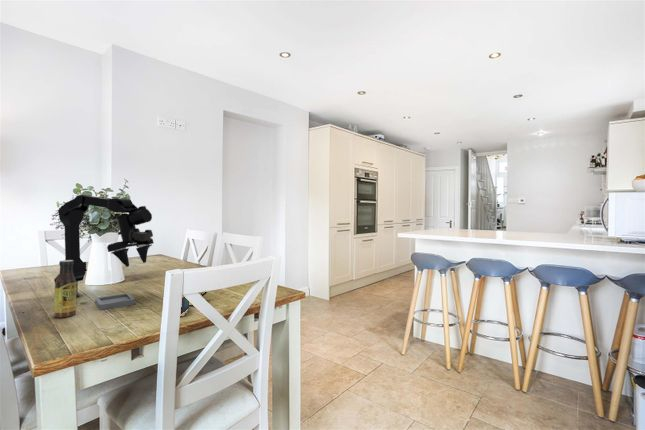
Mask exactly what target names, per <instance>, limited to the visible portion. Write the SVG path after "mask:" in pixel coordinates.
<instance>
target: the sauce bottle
mask: <svg viewBox="0 0 645 430" xmlns="http://www.w3.org/2000/svg"><path fill="white" fill-rule="evenodd" d="M58 264H59V273H58V275H59V276H58V275H57V276H58V277H57V276H56V277H57V278H56V277H55V278H56V281H54V285H55V286H54V300H53V302H54V304H53V312H54V314H53V316H54V318H58V319H59V318H60V319H61V318H67V317H72V316H73V315H75V314H76V312H77V311H76V310H77V297H76V296H77V282H76V279H75V277H74V274H73V264H74V261H73V260H65V259H64V260H59V263H58Z"/></svg>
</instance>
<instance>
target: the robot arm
mask: <svg viewBox="0 0 645 430" xmlns="http://www.w3.org/2000/svg"><path fill="white" fill-rule="evenodd" d="M90 206H91V207H92V206H93V207H100V208H105V209H107V210H108V211H111V212H113V213H115V214H114V216H113V217H112V221H114V220H115V221H117V224H118V225H117V226H118V229H119V231H118V232H117V235H118V236H120V237H121V241H117V242H112V243H110V244H109V243H108V245H107V247H106V248H107V249H106V250H107V252H109V253H110V254H113V255H114V256H115V257H116V258H118V260H119V261H120V262H121V263H122V264H123V265H124V267H126V268H128V267H130V261H129V256H128V252H129V249H130V248H131V247H136V248H135V249H136V251H137V254H138V255H139V258H140V260H141V261H142V263H143V264H144V263H147V256H148V251H149V249H150V247H152V246H153V245H152V244H154V239H153V236H154V235H153V234H154V233H153V230H152V229H145V230H144V231H140V229H139V228H137V226H138V225H143V224H146V223H150V222H151V221H152V219H153V215H152V213H151V212H150V210H149V209H148V208H147V206H146V205H142V206H141V205H140V206H139V207H137V206H136V205H135V204H134V203H133V201H132V200H131V199H130V198H118V197H117V198H106V197H100V196H93V195H90V194H89V195H88V194H79V195H77V196H75V197H74V198H73V199H70V200H69V201H67V202H65V203H63V205H61V206H60V207H58V210H57V212H58V219H59V221H60V222H61V224H62V225H63V226H64V251H65V252H64V255H65V257H64V258H65V259H64V260H73V261H74V264H73V274H74V277H75V279H76V282H77V296H76V297H78V298H79V297H80V293H79V290H78V288H79V287H78V286H79V282H81V281H82V282H83V281H84V278H85V275H86V272H88V269H87V262H86V261H83V260H82V259H81V245H80V244H81V243H80V241H81V240H80V224H81V223H82V222H83V220H84V215H85V213H86V212H87V211H88V210H89V208H90ZM120 213H121V214H120ZM58 276H59V274H57V276H56V277H55V278H54V280H53V281H54V282H55V281H56V278H57V277H58Z"/></svg>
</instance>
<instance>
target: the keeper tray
mask: <svg viewBox="0 0 645 430" xmlns="http://www.w3.org/2000/svg"><path fill="white" fill-rule="evenodd" d="M94 304H95V305H96V307H97V308H98V310H99V311H104V310H109V309H113V308H120V307H121V308H122V307H125V306H132V305H136V299H135V297H133V295H132V294H131V293H130V292H125V293H118V294H112V295H111V294H110V295H107V296H100V297H95V300H94Z"/></svg>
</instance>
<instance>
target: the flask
mask: <svg viewBox="0 0 645 430" xmlns="http://www.w3.org/2000/svg"><path fill="white" fill-rule="evenodd" d="M188 307H189V308H190V306H189V301H188V300H187V299H186V298H185V297H183V298H182V307H181V314H182V313H183V312H185V311H186V310H187V309H188Z"/></svg>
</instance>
